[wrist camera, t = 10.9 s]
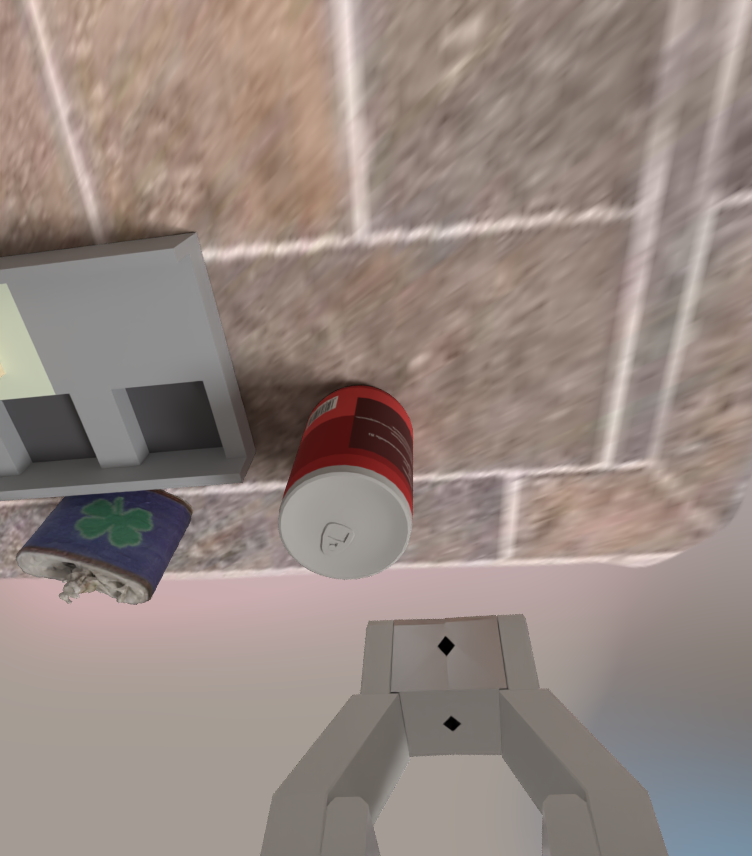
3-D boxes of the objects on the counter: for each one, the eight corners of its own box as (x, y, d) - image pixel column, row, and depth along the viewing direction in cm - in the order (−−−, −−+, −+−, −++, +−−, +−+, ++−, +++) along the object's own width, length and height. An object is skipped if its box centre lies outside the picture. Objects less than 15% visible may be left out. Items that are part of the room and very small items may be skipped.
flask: (77, 492, 48) (-4, 592, 39) (80, 464, 46) (-3, 560, 37) (191, 526, 49) (138, 630, 40) (197, 499, 48) (145, 601, 38)
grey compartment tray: (-110, 271, 39) (-161, 289, 36) (196, 232, 37) (173, 248, 33) (-3, 472, 47) (-36, 503, 44) (255, 451, 45) (242, 482, 41)
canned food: (303, 468, 45) (273, 572, 36) (311, 373, 41) (280, 461, 32) (403, 483, 45) (400, 590, 36) (422, 389, 41) (423, 482, 32)
